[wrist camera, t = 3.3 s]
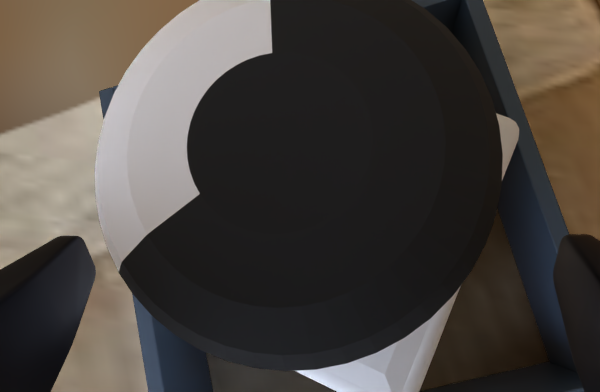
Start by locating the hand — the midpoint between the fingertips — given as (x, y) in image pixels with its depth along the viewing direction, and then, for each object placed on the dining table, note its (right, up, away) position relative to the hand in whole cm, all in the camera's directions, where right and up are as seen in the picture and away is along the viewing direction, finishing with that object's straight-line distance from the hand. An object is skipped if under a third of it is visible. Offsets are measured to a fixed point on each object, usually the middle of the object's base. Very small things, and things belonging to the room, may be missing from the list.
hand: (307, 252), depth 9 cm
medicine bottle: (+1, -1, +9) cm, 9 cm away
